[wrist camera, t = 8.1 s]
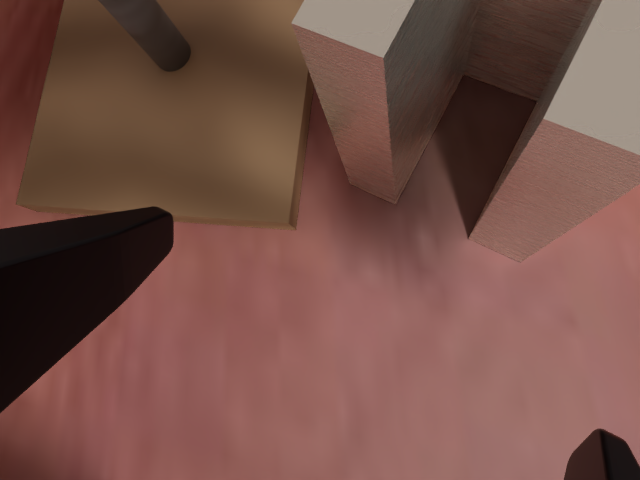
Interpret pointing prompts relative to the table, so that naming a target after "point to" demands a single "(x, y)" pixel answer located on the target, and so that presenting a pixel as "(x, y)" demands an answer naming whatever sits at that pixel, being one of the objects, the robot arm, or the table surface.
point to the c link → (495, 69)
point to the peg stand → (173, 112)
